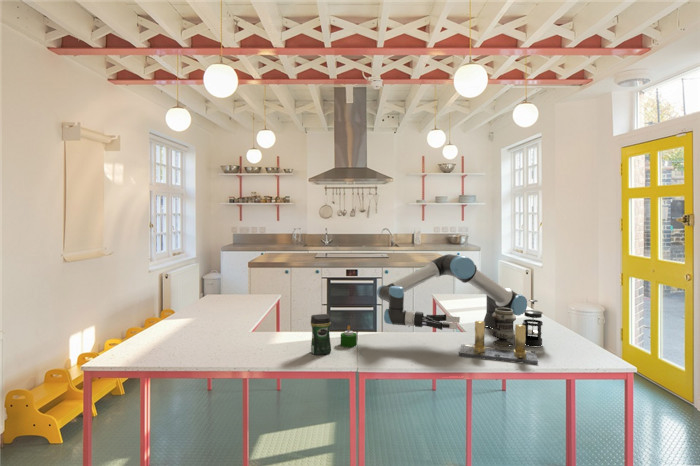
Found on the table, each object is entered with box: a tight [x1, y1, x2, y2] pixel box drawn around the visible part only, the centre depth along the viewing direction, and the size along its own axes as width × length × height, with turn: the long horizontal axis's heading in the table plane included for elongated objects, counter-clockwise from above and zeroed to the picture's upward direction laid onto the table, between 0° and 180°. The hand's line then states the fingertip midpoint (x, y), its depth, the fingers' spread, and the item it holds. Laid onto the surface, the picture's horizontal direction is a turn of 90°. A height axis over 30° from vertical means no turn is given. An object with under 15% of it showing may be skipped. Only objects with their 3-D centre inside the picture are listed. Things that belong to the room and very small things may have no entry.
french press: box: [521, 299, 544, 347], centre depth 213 cm, size 12×9×23 cm
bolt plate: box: [458, 323, 539, 365], centre depth 196 cm, size 34×14×15 cm, turn 70°
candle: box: [340, 325, 358, 348], centre depth 212 cm, size 8×8×10 cm
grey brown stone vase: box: [490, 308, 517, 347], centre depth 214 cm, size 12×12×18 cm
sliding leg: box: [474, 320, 486, 353], centre depth 197 cm, size 5×8×14 cm, turn 160°
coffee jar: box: [310, 313, 332, 356], centre depth 200 cm, size 10×8×19 cm
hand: (458, 323), depth 202 cm, fingers open, 13 cm apart
